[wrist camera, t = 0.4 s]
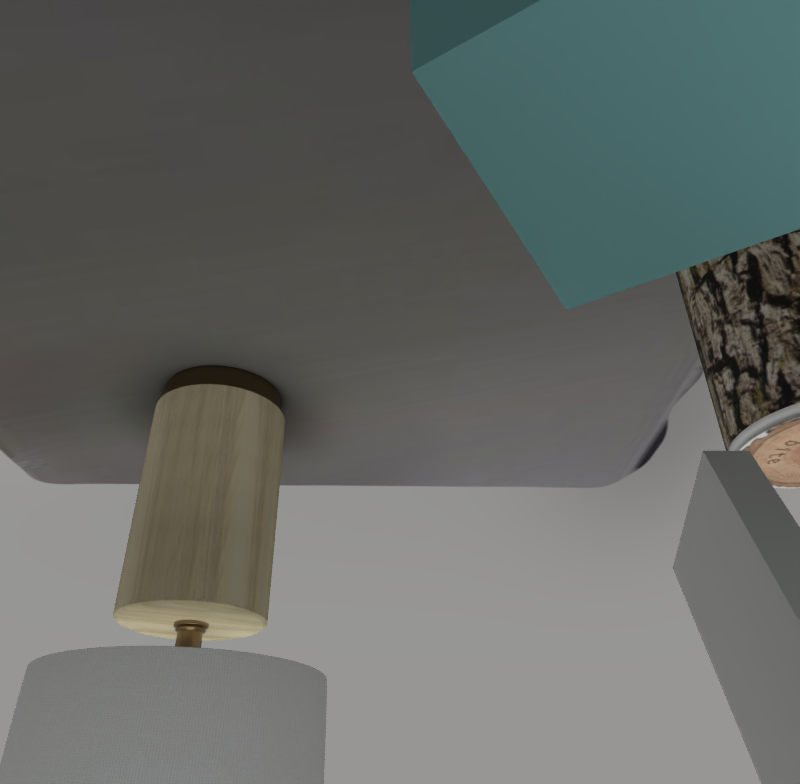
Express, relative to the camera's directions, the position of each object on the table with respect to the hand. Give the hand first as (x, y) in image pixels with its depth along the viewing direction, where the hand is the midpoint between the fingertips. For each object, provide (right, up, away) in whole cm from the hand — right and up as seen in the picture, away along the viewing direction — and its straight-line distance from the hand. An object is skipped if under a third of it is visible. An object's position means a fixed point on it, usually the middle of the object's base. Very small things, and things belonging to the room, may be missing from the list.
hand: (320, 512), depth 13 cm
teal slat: (+13, +9, -11) cm, 19 cm away
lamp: (-16, +2, +57) cm, 60 cm away
